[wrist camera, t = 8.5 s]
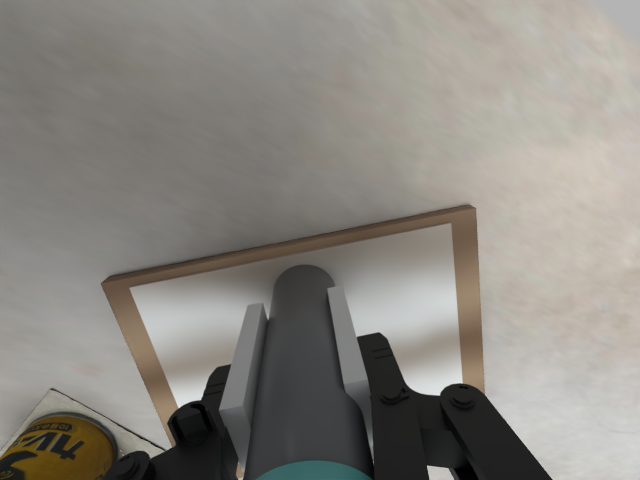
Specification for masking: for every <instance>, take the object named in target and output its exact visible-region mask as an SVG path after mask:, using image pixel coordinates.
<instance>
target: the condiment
mask: <svg viewBox="0 0 640 480" xmlns="http://www.w3.org/2000/svg"><path fill="white" fill-rule="evenodd" d="M120 449H121V450H122V452H120ZM134 451H145V452H147V453H148V454H149V456H150V458H152V457H154V456H157V455H159V454H161V453H163V452H165V451H163V450H162V449H160V448H157V447H155V446H153V445H152V444H150V443H149V442H147V441H145V440H142V439H140V438H138V437H137V436H136V435H134V434H132V433H131V432H128V431H125V430H124V429H123V428H122V427H119V426H118V425H117V424H115V423H113V422H112V421H110V420H109V419H107V418H105V417H103V416H102V415H99V414H98V413H96V412H94V411H92V410H91V409H89V408H87V407H85V406H83V405H82V404H80V403H78V402H76V401H73V400H71V399H70V398H69V397H67V396H65V395H63V394H61V393H59V392H56V391H52V390H49V391H48V393H47V394H46V395H45V396H44V398H43V399H42V400H41V401H40V403H39V404H38V405H37V406H36V408H35V409H34V410H33V411H32V413H31V414H30V415H29V416H28V418H27V419H26V420H25V421H24V422H23V424H22V425H21V426H20V427H19V429H18V430H17V431H16V432H15V434H14V435H13V436H12V437H11V438H10V440H9V441H8V442H7V443H6V445H5V446H4V447H3V448H2V449H1V451H0V480H102V479H103V477H104V476H105V474H106V473H107V471H108V470H109V469H110V467H111V466H112V465H113V464H114V463H115V462H117V461H118V460H119V459H120V458H121V457H123V456H122V454H124V455H127V454H128V453H131V452H134Z"/></svg>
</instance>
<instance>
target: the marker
mask: <svg viewBox="0 0 640 480" xmlns="http://www.w3.org/2000/svg"><path fill="white" fill-rule="evenodd" d="M332 287H335V284H334V281H333V279H332V278H331V276H330V275H329V274H328V273H327V272H326V271H324V270H323V269H321V268H319V267H317V266H313V265H297V266H294V267H291V268H289V269H287V270H286V271H284V272H283V273H282V274H281V275H280V276H279V277H278V279H277V280H276V282H275V285H274V288H273V294H272V301H271V307H270V313H269V320H268V326H267V332H266V339H265V345H264V351H263V358H262V364H261V370H260V377H259V383H258V389H257V396H256V402H255V408H254V415H253V421H252V427H251V434H250V440H249V446H248V453H247V459H246V465H245V472H244V478H243V480H375V477H374V464H373V459H372V454H371V450H370V445H369V440H368V436H367V431H366V426H365V422H364V417H363V414H362V411H361V409H360V407H359V406H358V404H357V403H356V402H355V401H354V399H353V398H351V397H350V396H349V395H348V394H346V392H345V388H344V383H343V377H342V371H341V365H340V360H339V354H338V348H337V342H336V337H335V331H334V325H333V319H332V313H331V308H330V302H329V296H328V290H327V288H332Z"/></svg>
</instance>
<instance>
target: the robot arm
mask: <svg viewBox="0 0 640 480" xmlns="http://www.w3.org/2000/svg"><path fill="white" fill-rule="evenodd" d="M327 290H328V296H329V302H330V308H331V313H332V319H333V325H334V331H335V337H336V342H337V348H338V354H339V360H340V365H341V371H342V377H343V383H344V388H345V392H346V394H348V395H349V396H350V397H351V398H353V399H354V401H355V402H356V403H357V404H358V406H359V407H360V409H361V411H362V414H363V417H364V422H365V426H366V431H367V436H368V440H369V445H370V446H373V455H374V477H375V480H429V475H428V470H427V465H428V466H436V467H445V468H449V470H450V472H451V474H452V476H453V478H454V480H552V479H551V477H550V476H549V475H548V474H547V472H546V471H545V470H544V469H543V467H542V466H541V465H540V464H539V462H538V461H537V460H536V459H535V457H534V456H533V455H532V454H531V452H530V451H529V450H528V449H527V447H526V446H525V445H524V444H523V442H522V441H521V440H520V439H519V437H518V436H517V435H516V434H515V432H514V431H513V430H512V429H511V427H510V426H509V425H508V424H507V422H506V421H505V420H504V419H503V417H502V416H501V415H500V414H499V412H498V411H497V410H496V409H495V407H494V406H493V405H492V404H491V402H490V401H489V400H488V399H487V397H486V396H485V395H484V394H483V393H482V392H481V391H480V390H479V389H478V388H476V387H474V386H471V385H469V384H462V383H457V384H451V385H449V386H447V387H445V388H444V389H443V390H442V391H441V393H440V396H439V395H426V394H421V393H418V392H416V391H414V390H412V389H411V388H410V387H409V386H408V385H407V384H406V382H405V381H404V378H403V376H402V373H401V371H400V368H399V366H398V364H397V361H396V359H395V356H394V354H393V351H392V349H391V346H390V344H389V342H388V339H387V338H386V337H385V336H384V335H382V334H381V333H380V332H377V333H372V334H368V335H363V336H358V337H356V334H355V330H354V326H353V322H352V319H351V315H350V311H349V308H348V304H347V300H346V296H345V293H344V289H343V285H341V286H336V287H332V288H327ZM267 326H268V318H267V315H266V312H265V308H264V305H263V302H261V303H256V304H251V305H247V309H246V313H245V316H244V320H243V324H242V327H241V331H240V335H239V338H238V342H237V346H236V349H235V353H234V357H233V360H232V364H229V365H224V366H219V367H216V369H215V370H214V371H213V372H212V374H211V375H210V376H209V378H208V381H207V384H206V388H205V390H204V393H203V397H202V398H201V400H197V401H192V402H189V403H187V404H185V405H183V406H181V407H180V408H179V409H177V410H176V411H175V412H174V413H173V414H172V415H171V416H170V418H169V420H168V422H167V425H168V427H169V429H170V432H171V434H172V436H173V438H174V441H175V443H176V445H175V446H174V447H172V448H171V449H169V450H167V451H165V452H163V453H161V454H159V455H157V456H154V457H152V458H150V456H149V454H148V453H147V452H145V451H134V452H131V453H128V454H127V455H125V456H123V457H121V458H120V459H119V460H118V461H117V462H115V463H114V464H113V465H112V466H111V467H110V469H109V470H108V471H107V473H106V474H105V476H104V477H103V479H102V480H238V478H237V476H236V472H237V466H238V462H239V464H240V467H241V470H242V472H243V473H244V472H245V465H246V459H247V453H248V446H249V440H250V434H251V427H252V421H253V415H254V408H255V402H256V396H257V389H258V383H259V377H260V370H261V364H262V358H263V351H264V345H265V339H266V332H267Z"/></svg>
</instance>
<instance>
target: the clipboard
mask: <svg viewBox="0 0 640 480" xmlns="http://www.w3.org/2000/svg"><path fill="white" fill-rule="evenodd" d="M297 265H313V266H317V267H319V268H321V269H323V270H324V271H326V272H327V273H328V274H329V275H330V276H331V278H332V279H333V281H334V284H335V287H336V286H341V285H343V289H344V293H345V296H346V300H347V304H348V308H349V311H350V315H351V319H352V322H353V326H354V330H355V334H356V337H358V336H363V335H368V334H372V333H377V332H380V333H381V334H382V335H384V336H385V337H386V338H387V339H388V342H389V344H390V346H391V349H392V351H393V354H394V356H395V359H396V361H397V364H398V366H399V368H400V371H401V373H402V376H403V378H404V381H405V382H406V384H407V385H408V386H409V387H410V388H411V389H412V390H414V391H416V392H418V393H421V394H426V395H439V396H440V393H441V391H442V390H443V389H444V388H445V387H447V386H449V385H451V384H457V383H462V384H469V385H471V386H474V387H476V388H478V389H479V390H480V391H481V392H482V393H483V394H484V395H485V389H484V367H483V346H482V325H481V304H480V283H479V262H478V240H477V219H476V208H475V207H473V206H471V205H465V206H460V207H455V208H450V209H445V210H441V211H436V212H431V213H426V214H421V215H416V216H411V217H406V218H401V219H396V220H391V221H386V222H381V223H376V224H371V225H366V226H361V227H356V228H351V229H346V230H341V231H336V232H331V233H326V234H322V235H317V236H312V237H307V238H302V239H297V240H292V241H287V242H282V243H277V244H272V245H267V246H262V247H257V248H252V249H247V250H242V251H237V252H232V253H227V254H222V255H217V256H212V257H207V258H203V259H198V260H193V261H188V262H183V263H178V264H173V265H168V266H163V267H158V268H153V269H148V270H143V271H138V272H133V273H128V274H123V275H118V276H113V277H108V278H107V279H106V280H105V281H103V282H102V283H101V285H102V288H103V290H104V292H105V294H106V297H107V299H108V301H109V304H110V306H111V308H112V310H113V313H114V315H115V317H116V320H117V322H118V324H119V326H120V329H121V331H122V333H123V336H124V338H125V340H126V342H127V345H128V347H129V349H130V352H131V354H132V356H133V358H134V361H135V363H136V365H137V368H138V370H139V372H140V374H141V377H142V379H143V381H144V383H145V386H146V388H147V390H148V393H149V395H150V397H151V399H152V402H153V404H154V406H155V409H156V411H157V413H158V415H159V418H160V420H161V422H162V425H163V427H164V429H165V431H166V434H167V436H168V438H169V441H170V443H171V445H172V447H174V446H175V445H176V443H175V441H174V438H173V436H172V434H171V432H170V429H169V427H168V425H167V422H168V420H169V418H170V416H171V415H172V414H173V413H174V412H175V411H176V410H177V409H179V408H180V407H181V406H183V405H185V404H187V403H189V402H192V401H197V400H201V398H202V397H203V393H204V390H205V388H206V384H207V381H208V378H209V376H210V375H211V374H212V372H213V371H214V370H215V369H216V367H219V366H224V365H229V364H232V360H233V357H234V353H235V349H236V346H237V342H238V338H239V335H240V331H241V327H242V324H243V320H244V316H245V313H246V309H247V305H251V304H256V303H261V302H263V305H264V308H265V312H266V315H267V318H268V320H269V313H270V307H271V301H272V294H273V288H274V285H275V282H276V280H277V279H278V277H279V276H280V275H281V274H282V273H283V272H284V271H286V270H287V269H289V268H291V267H294V266H297ZM370 450H371V454H372V459H373V461H374V455H373V446H370ZM236 476H237V478H241V477H244V473H243V472H242V470H241V467H240V464H239V462H238V466H237V472H236Z"/></svg>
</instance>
